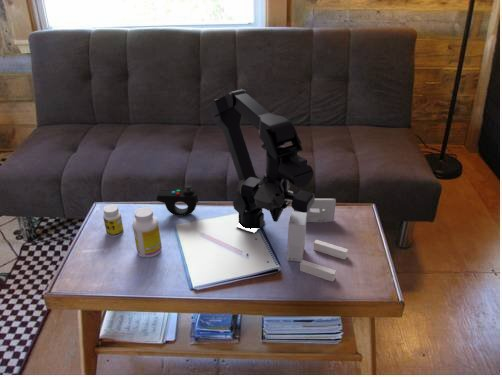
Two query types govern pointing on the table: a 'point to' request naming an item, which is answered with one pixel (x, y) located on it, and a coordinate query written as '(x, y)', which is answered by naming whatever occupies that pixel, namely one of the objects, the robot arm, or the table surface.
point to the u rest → (321, 270)
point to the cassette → (321, 210)
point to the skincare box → (296, 236)
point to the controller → (179, 200)
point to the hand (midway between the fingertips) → (275, 220)
